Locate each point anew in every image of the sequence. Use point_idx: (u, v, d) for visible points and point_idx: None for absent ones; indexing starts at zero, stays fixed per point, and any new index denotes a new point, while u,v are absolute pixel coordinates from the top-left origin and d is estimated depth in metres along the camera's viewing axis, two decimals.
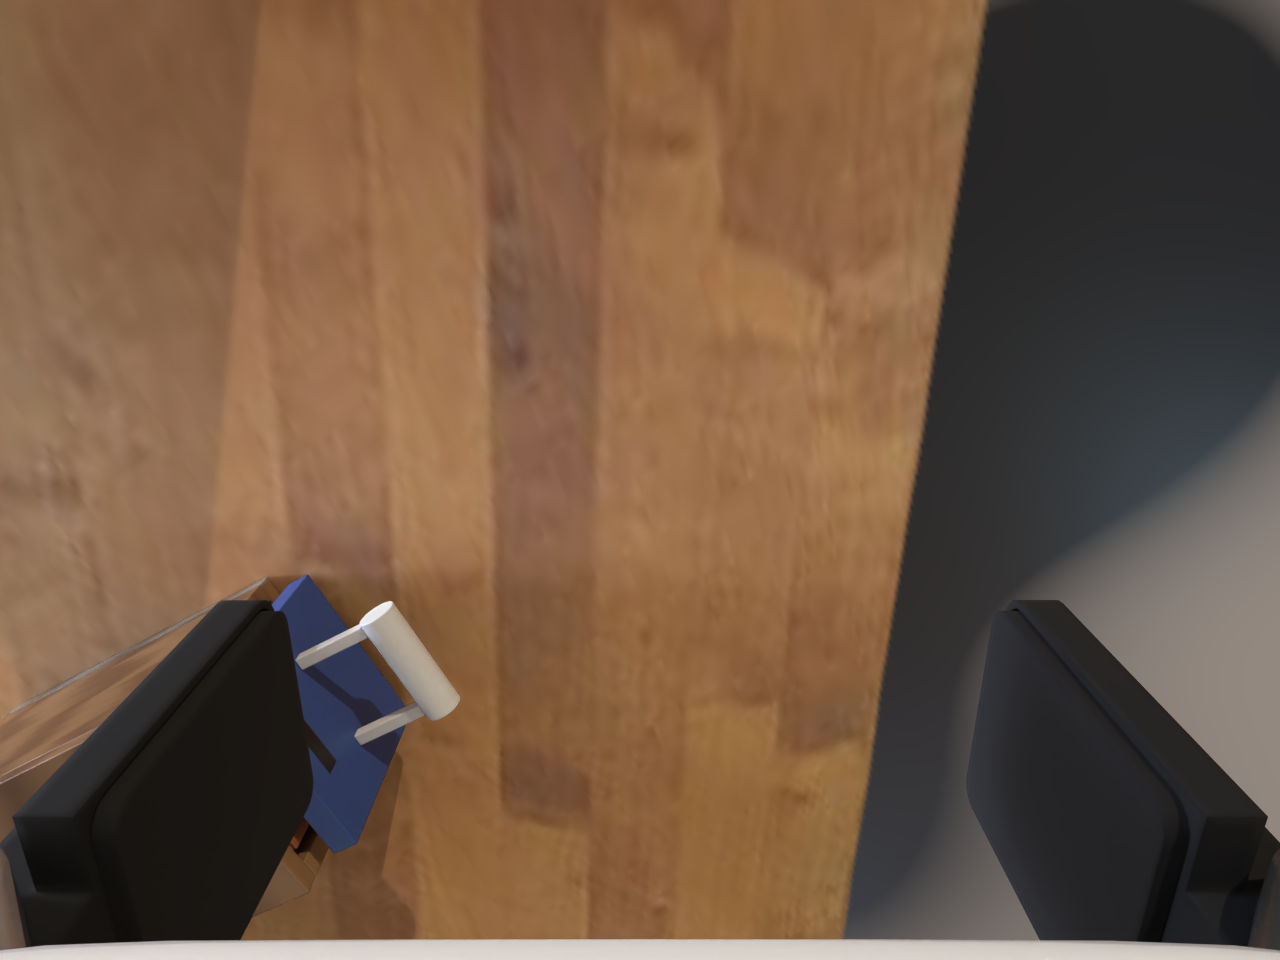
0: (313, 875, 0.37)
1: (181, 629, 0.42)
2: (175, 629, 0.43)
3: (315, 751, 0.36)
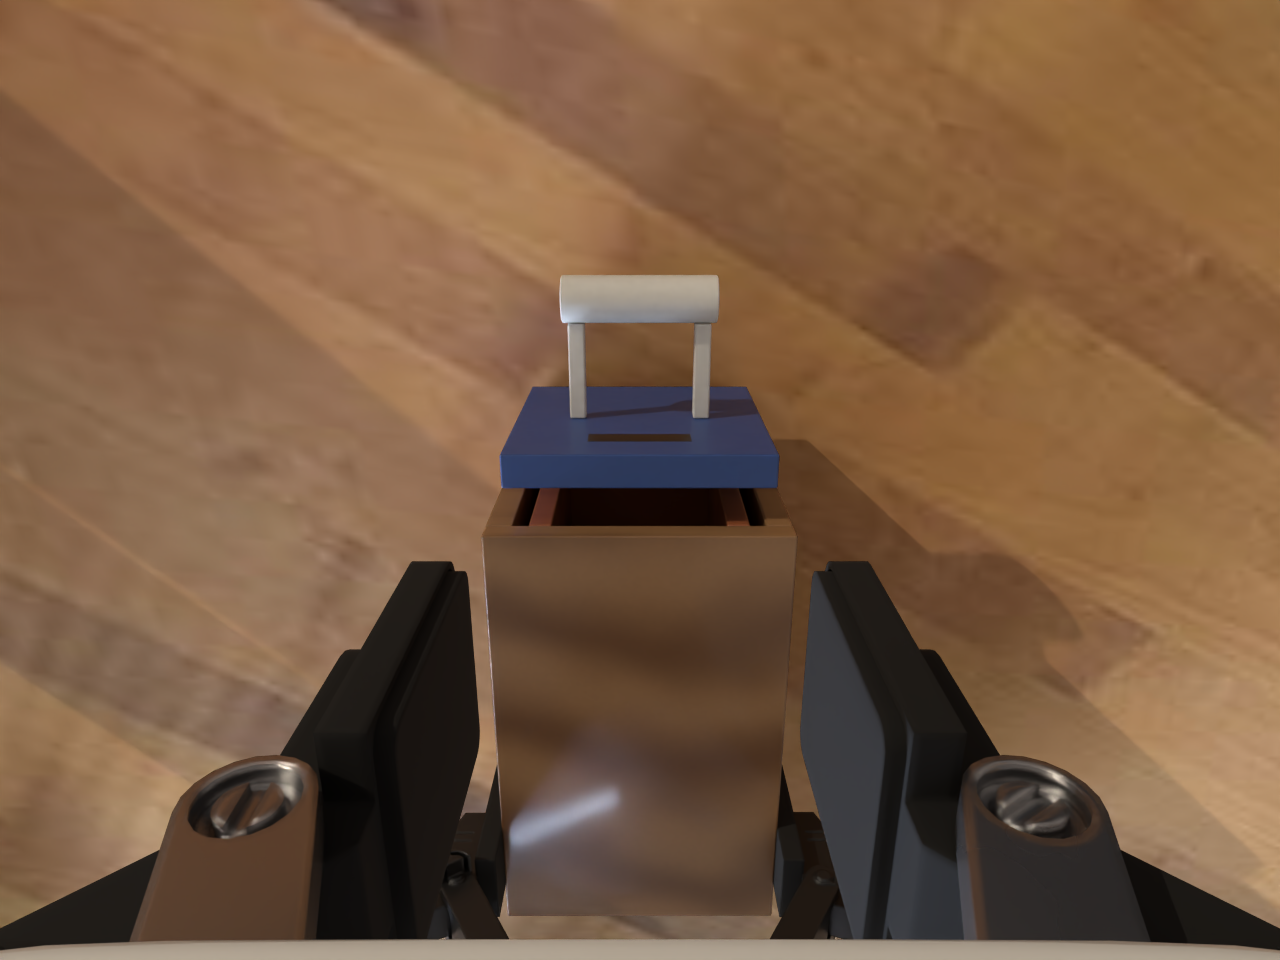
0: (789, 526, 0.29)
1: None
2: None
3: (657, 440, 0.29)
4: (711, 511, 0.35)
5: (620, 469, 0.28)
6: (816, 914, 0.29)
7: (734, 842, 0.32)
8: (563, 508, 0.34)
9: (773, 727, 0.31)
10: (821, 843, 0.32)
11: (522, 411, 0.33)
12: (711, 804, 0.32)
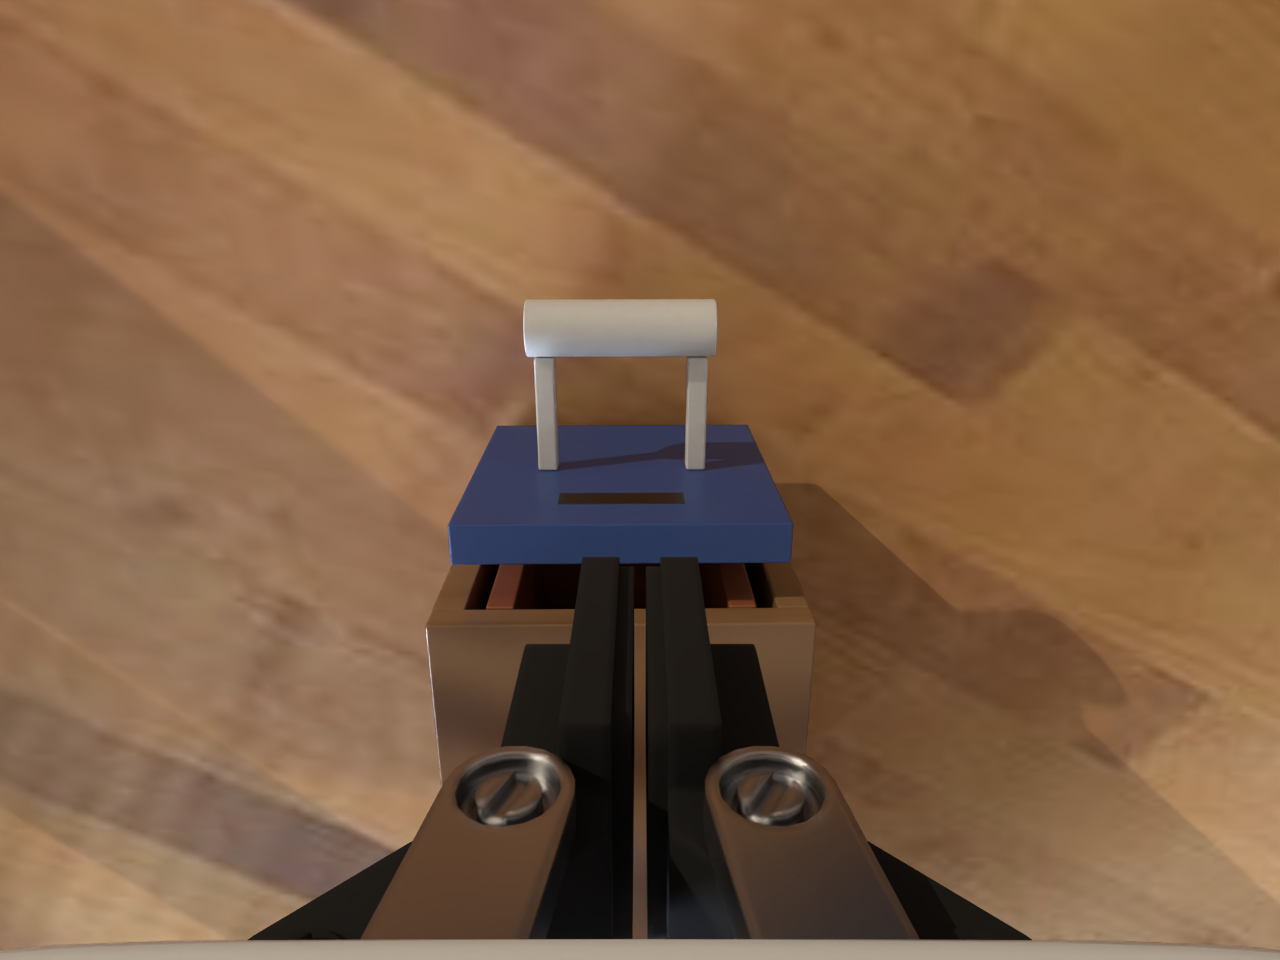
0: (804, 608, 0.23)
1: None
2: None
3: (642, 501, 0.24)
4: (707, 573, 0.30)
5: (598, 541, 0.23)
6: None
7: None
8: (532, 574, 0.28)
9: None
10: None
11: (481, 460, 0.28)
12: None
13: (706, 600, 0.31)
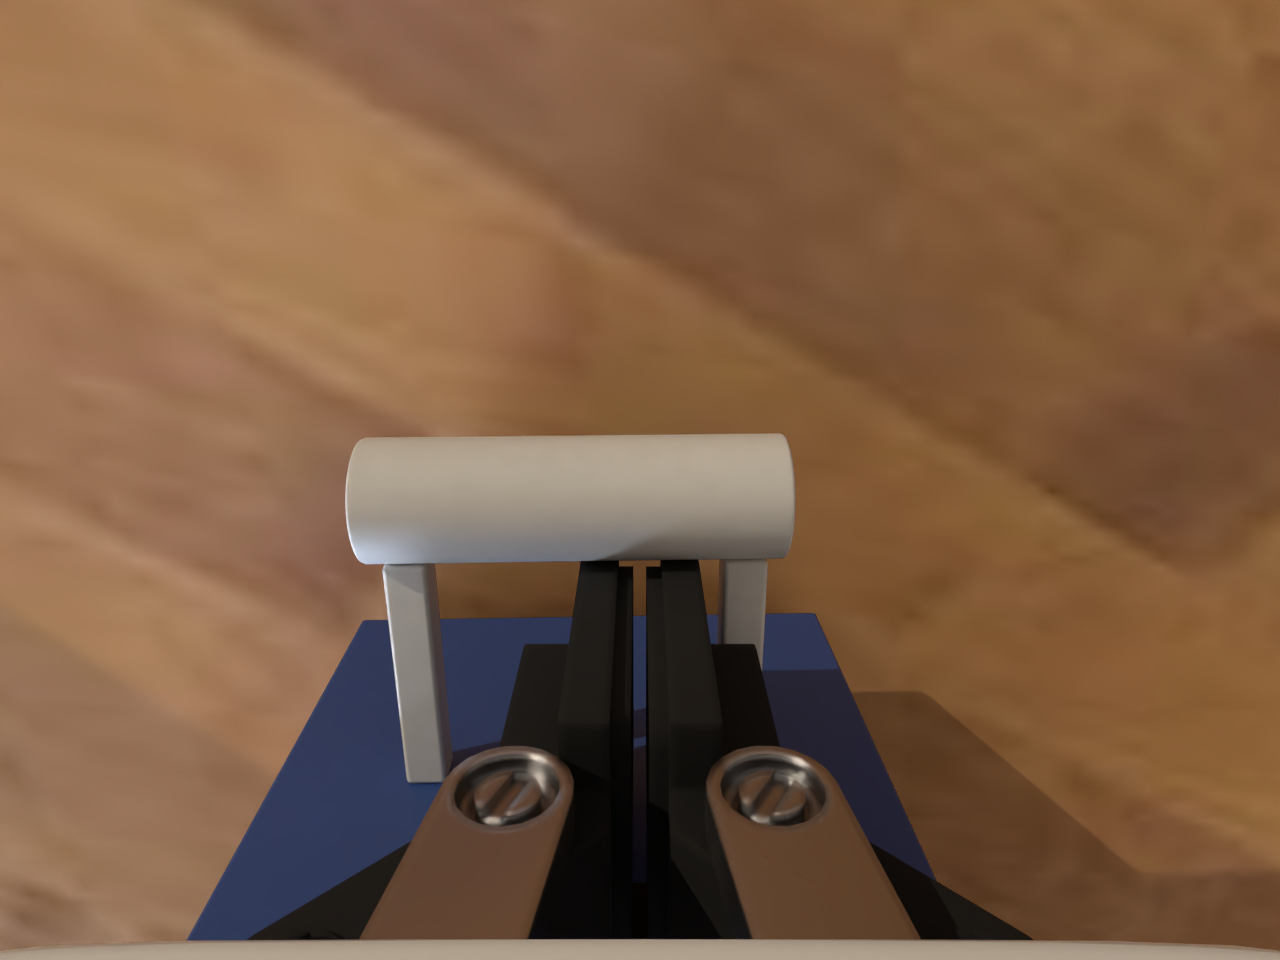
0: None
1: None
2: None
3: None
4: None
5: None
6: None
7: None
8: None
9: None
10: None
11: (298, 743, 0.14)
12: None
13: None
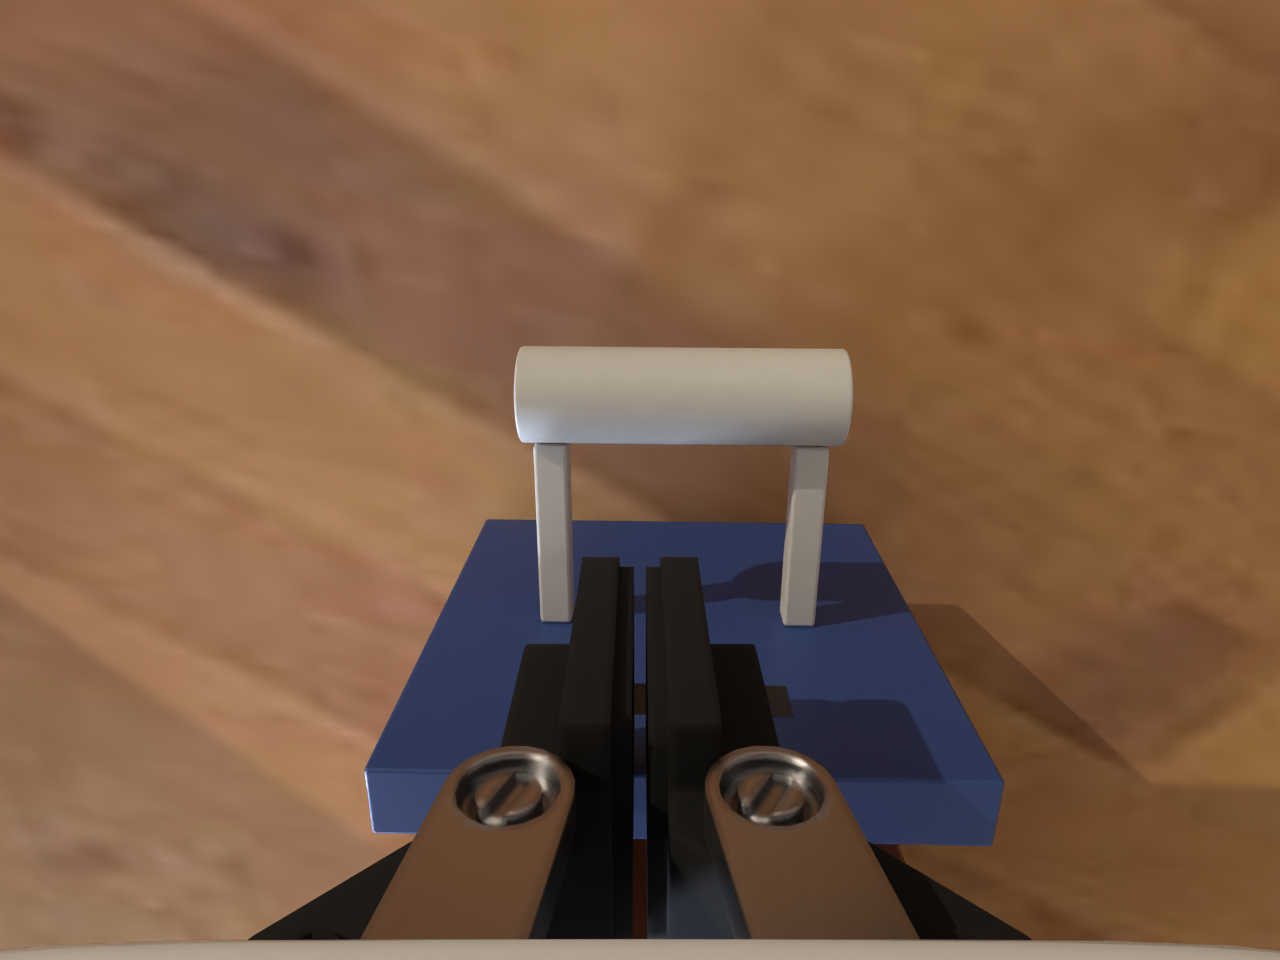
0: None
1: None
2: None
3: None
4: None
5: (638, 802, 0.12)
6: None
7: None
8: None
9: None
10: None
11: (452, 595, 0.17)
12: None
13: None
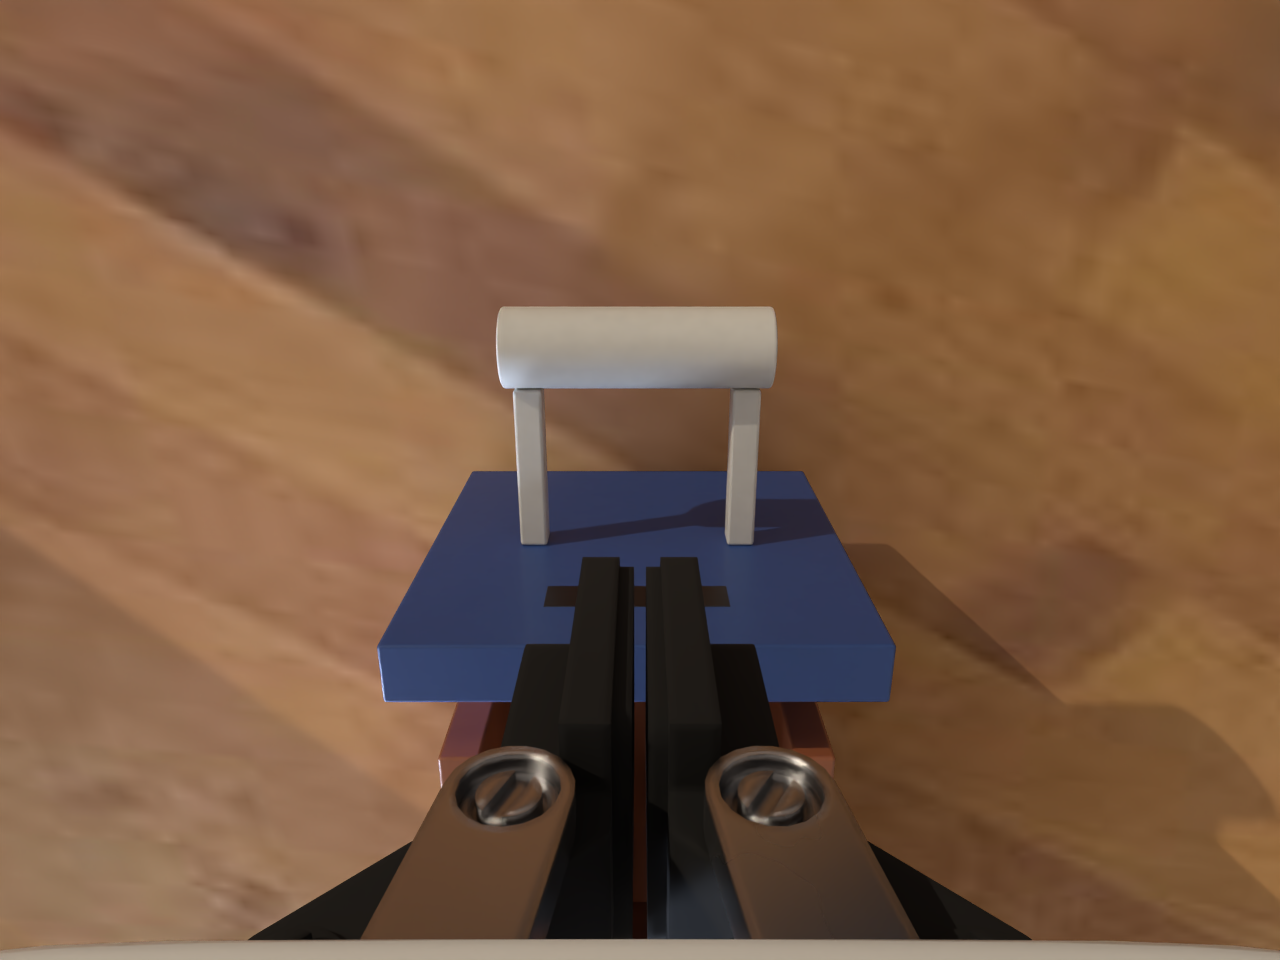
0: None
1: None
2: None
3: None
4: None
5: None
6: None
7: None
8: None
9: None
10: None
11: (444, 527, 0.20)
12: None
13: None
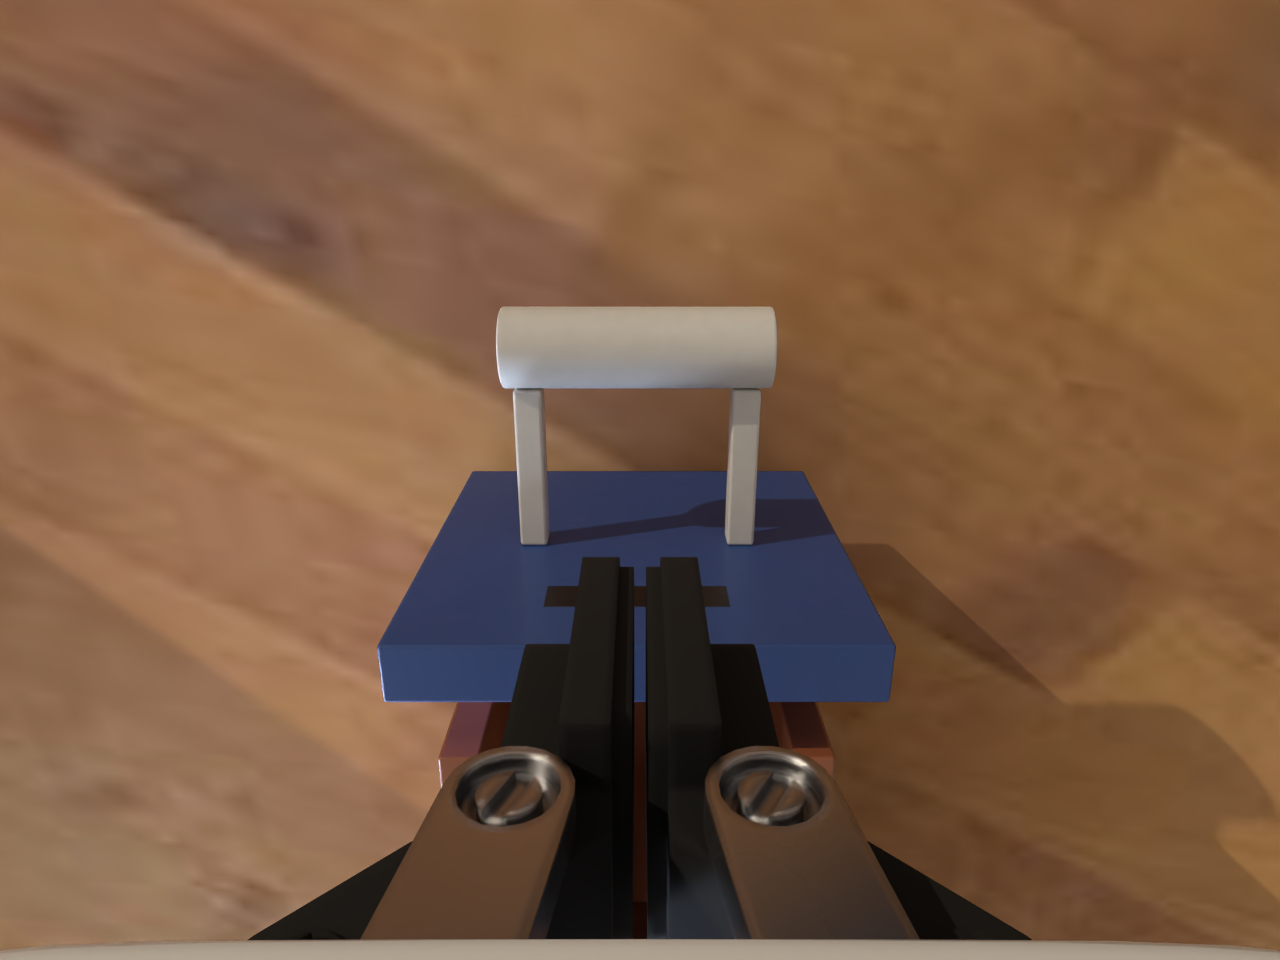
0: None
1: None
2: None
3: None
4: None
5: None
6: None
7: None
8: None
9: None
10: None
11: (444, 527, 0.20)
12: None
13: None
